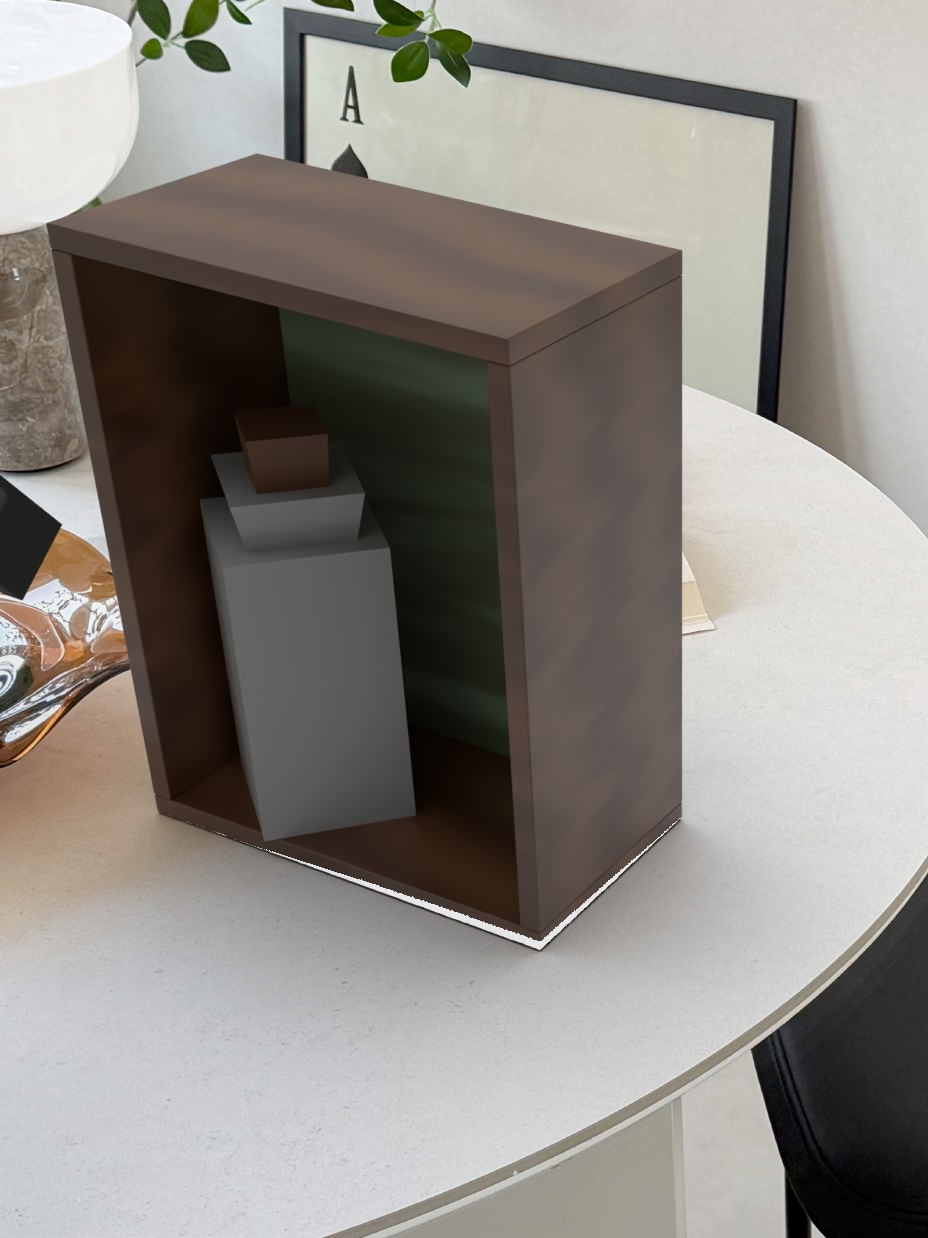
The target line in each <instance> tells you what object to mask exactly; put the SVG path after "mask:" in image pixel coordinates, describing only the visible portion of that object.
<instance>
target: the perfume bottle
mask: <svg viewBox="0 0 928 1238" xmlns="http://www.w3.org/2000/svg"><path fill="white" fill-rule="evenodd" d="M234 415H235V420H236V424H237V429H238V433H239V438H240V442H241V447H242V451H243V452H235V453H225V454H216V455H211V457H212V460H213V463H214V466H215V469H216V471H217V474H218V477H219V480H220V483H221V485H222V488H223V491H224V494H225V496H226V497H218V498H209V499H200V505H201V512H202V518H203V524H204V530H205V537H206V543H207V549H208V556H209V562H210V568H211V575H212V581H213V587H214V594H215V600H216V606H217V613H218V619H219V625H220V632H221V638H222V644H223V650H224V657H225V663H226V669H227V676H228V682H229V688H230V695H231V701H232V707H233V714H234V720H235V726H236V733H237V739H238V745H239V751H240V758H241V764H242V768H243V771H244V774H245V778H246V781H247V784H248V788H249V791H250V794H251V797H252V801H253V804H254V807H255V811H256V814H257V817H258V821H259V824H260V827H261V831H262V834H263V837H264V841H270V840H276V839H281V838H287V837H293V836H299V835H305V834H311V833H317V832H323V831H328V830H334V829H340V828H346V827H352V826H358V825H364V824H370V823H375V822H381V821H387V820H393V819H399V818H405V817H411V816H416V809H415V799H414V789H413V779H412V768H411V758H410V748H409V738H408V728H407V717H406V707H405V697H404V687H403V677H402V666H401V656H400V646H399V636H398V626H397V615H396V605H395V595H394V585H393V575H392V564H391V554H390V547H389V545H388V543H387V541H386V539H385V537H384V535H383V532H382V530H381V528H380V526H379V524H378V522H377V520H376V518H375V516H374V514H373V512H372V510H371V508H370V506H369V504H368V502H367V499H366V497H365V492H364V490H363V488H362V486H361V483H360V481H359V479H358V477H357V475H356V473H355V471H354V469H353V467H352V465H351V463H350V461H349V459H348V457H347V455H346V453H345V451H344V449H343V446H342V444H341V442H335V443H328V433H327V431H326V429H325V427H324V425H323V423H322V421H321V419H320V417H319V415H318V412H317V410H316V408H315V406H314V404H309V405H299V406H288V407H277V408H266V409H256V410H245V411H234Z"/></svg>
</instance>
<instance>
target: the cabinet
mask: <svg viewBox="0 0 928 1238" xmlns="http://www.w3.org/2000/svg"><path fill="white" fill-rule="evenodd" d="M45 225H46V229H47V230H46V231H47V236H48V241H49V246H50V249H51V250H50V252H51V257H52V261H53V268H54V273H55V277H56V283H57V289H58V294H59V301H60V304H61V305H60V306H61V309H62V315H63V320H64V321H63V322H64V326H65V330H66V337H67V341H68V346H69V347H68V348H69V351H70V358H71V363H72V367H73V373H74V379H75V383H76V389H77V394H78V400H79V405H80V411H81V415H82V420H83V421H82V422H83V427H84V431H85V436H86V442H87V448H88V453H89V456H90V462H91V468H92V473H93V479H94V484H95V488H96V494H97V499H98V505H99V511H100V515H101V522H102V525H103V532H104V536H105V542H106V546H107V547H106V548H107V553H108V557H109V562H110V569H111V573H112V579H113V584H114V590H115V596H116V599H117V605H118V610H119V616H120V621H121V626H122V627H121V628H122V632H123V638H124V641H125V647H126V652H127V658H128V665H129V669H130V673H131V679H132V680H131V681H132V685H133V690H134V695H135V700H136V706H137V711H138V717H139V721H140V727H141V732H142V738H143V743H144V747H145V754H146V758H147V759H146V760H147V763H148V770H149V773H150V779H151V785H152V791H153V794H154V799H155V803H156V810H157V812H158V813H160V814H163V815H164V816H165V815H166V816H168V815H169V816H168V817H170V816H171V818H173V817H174V818H173V819H176V818H178V819H177V820H179V819H181V820H184V821H187V822H190V823H192V824H195V825H198V826H201V827H204V828H206V829H209V830H212V831H215V832H218V833H221V834H224V835H226V836H227V837H226V838H228V837H230V838H229V839H231V838H233V839H232V840H234V839H236V840H238V841H237V842H239V841H242V842H245V843H248V844H250V845H253V846H256V847H259V848H262V849H265V850H266V849H267V850H268V851H269V850H270V851H271V852H272V851H273V852H276V853H279V854H282V855H285V856H288V857H291V858H294V859H297V860H300V861H303V862H306V863H310V864H313V865H316V866H319V867H322V868H325V869H328V870H331V871H334V872H337V873H341V874H344V875H347V876H350V877H353V878H356V879H360V880H361V879H362V880H363V881H366V882H369V883H372V884H376V885H379V886H380V887H383V888H386V889H390V890H393V891H394V892H395V891H396V892H397V893H402V894H404V895H407V896H410V897H412V896H413V897H414V898H415V899H420V900H421V901H422V900H424V901H425V902H426V901H427V902H428V903H431V904H435V905H438V906H439V907H441V906H442V907H443V908H446V909H449V910H450V911H451V910H453V911H454V912H458V913H461V914H464V915H465V916H466V915H468V916H469V917H470V918H474V919H477V920H480V921H482V922H483V921H484V922H485V923H488V924H492V925H493V926H494V925H495V926H496V927H500V928H503V929H504V930H506V929H507V930H508V931H512V932H515V933H516V934H517V933H519V934H520V935H524V936H526V937H528V938H530V937H531V938H532V939H533V940H537V941H542V940H543V939H544V937H546V936H547V935H549V933H550V932H551V931H553V929H555V927H557V926H559V924H560V923H561V922H563V921H564V920H565V919H566V918H567V917H568V916H569V915H570V914H572V912H574V910H575V911H576V909H578V908H579V907H580V906H581V905H582V904H583V903H585V901H587V899H589V898H590V897H591V896H592V895H593V894H594V893H596V892H597V891H598V890H599V888H601V887H603V885H604V884H606V882H608V880H610V879H611V878H613V876H615V874H617V873H618V872H620V870H621V869H623V868H624V867H625V866H626V865H628V863H630V862H631V860H633V859H634V858H636V856H638V855H639V854H641V852H642V851H644V849H646V848H647V846H649V845H650V844H652V843H653V842H654V841H655V840H656V839H657V838H658V837H660V836H661V834H663V833H664V831H666V830H667V829H669V827H670V826H672V824H673V823H675V822H676V821H678V819H679V818H681V817H682V818H683V250H682V249H680V248H674V247H671V246H666V245H661V244H657V243H654V242H653V243H652V242H648V241H644V240H639V239H635V238H631V237H626V236H621V235H618V234H613V233H608V232H605V231H600V230H596V229H591V228H587V227H583V226H578V225H574V224H569V223H564V222H562V221H561V222H560V221H556V220H551V219H547V218H543V217H539V216H534V215H530V214H525V213H520V212H516V211H512V210H507V209H504V208H499V207H495V206H492V205H491V206H490V205H485V204H482V203H478V202H473V201H468V200H465V199H459V198H456V197H452V196H451V197H450V196H447V195H441V194H439V193H438V194H437V193H433V192H429V191H424V190H420V189H415V188H411V187H408V186H406V187H405V186H402V185H399V184H393V183H389V182H385V181H380V180H376V179H371V178H369V177H364V176H358V175H353V174H350V173H345V172H341V171H336V170H332V169H328V168H323V167H319V166H314V165H310V164H306V163H301V162H297V161H292V160H288V159H283V158H279V157H276V156H275V157H274V156H270V155H266V154H262V153H254V154H250V155H247V156H245V157H242V158H239V159H235V160H233V161H230V162H227V163H224V164H220V165H217V166H214V167H212V168H208V169H206V170H201V171H200V172H199V171H198V172H196V173H193V174H191V175H187V176H184V177H182V178H178V179H175V180H172V181H169V182H166V183H164V184H160V185H157V186H154V187H151V188H148V189H145V190H142V191H139V192H136V193H133V194H130V195H127V196H124V197H120V198H118V199H115V200H111V201H108V202H105V203H102V204H100V205H95V206H93V207H90V208H88V209H85V210H81V211H78V212H75V213H72V214H70V215H69V214H68V215H66V216H63V217H60V218H57V219H54V220H52V221H48V222H46V223H45ZM309 404H314V406H315V408H316V410H317V412H318V415H319V417H320V419H321V421H322V423H323V425H324V427H325V429H326V431H327V433H328V443H335V442H341V444H342V446H343V449H344V451H345V453H346V455H347V457H348V459H349V461H350V463H351V465H352V467H353V469H354V471H355V473H356V475H357V477H358V479H359V481H360V483H361V486H362V488H363V490H364V492H365V497H366V499H367V502H368V504H369V506H370V508H371V510H372V512H373V514H374V516H375V518H376V520H377V522H378V524H379V526H380V528H381V530H382V532H383V535H384V537H385V539H386V541H387V543H388V545H389V547H390V554H391V564H392V575H393V585H394V595H395V605H396V615H397V626H398V636H399V646H400V656H401V666H402V677H403V687H404V697H405V707H406V717H407V728H408V738H409V748H410V758H411V768H412V779H413V789H414V799H415V809H416V816H411V817H405V818H399V819H393V820H387V821H381V822H375V823H370V824H364V825H358V826H352V827H346V828H340V829H334V830H328V831H323V832H317V833H311V834H305V835H299V836H293V837H287V838H281V839H276V840H270V841H264V837H263V834H262V831H261V827H260V824H259V821H258V817H257V814H256V811H255V807H254V804H253V801H252V797H251V794H250V791H249V788H248V784H247V781H246V778H245V774H244V771H243V768H242V764H241V758H240V751H239V745H238V739H237V733H236V726H235V720H234V714H233V707H232V701H231V695H230V688H229V682H228V676H227V669H226V663H225V657H224V650H223V644H222V638H221V632H220V625H219V619H218V613H217V606H216V600H215V594H214V587H213V581H212V575H211V568H210V562H209V556H208V549H207V543H206V537H205V530H204V524H203V518H202V512H201V505H200V499H209V498H218V497H226V496H225V494H224V491H223V488H222V485H221V483H220V480H219V477H218V474H217V471H216V469H215V466H214V463H213V460H212V457H211V455H216V454H225V453H235V452H243V451H242V447H241V442H240V438H239V433H238V429H237V424H236V420H235V415H234V411H245V410H256V409H266V408H277V407H288V406H299V405H309ZM181 820H180V821H181ZM184 821H183V822H184ZM187 822H186V823H187ZM190 823H189V824H190ZM192 824H191V825H192ZM195 825H194V826H195ZM198 826H197V827H198ZM201 827H200V828H201ZM206 829H205V830H206ZM209 830H208V831H209ZM212 831H211V832H212ZM236 840H235V841H236ZM242 842H241V843H242ZM245 843H244V844H245ZM250 845H249V846H250ZM253 846H252V847H253ZM256 847H255V848H256Z"/></svg>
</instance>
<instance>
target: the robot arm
mask: <svg viewBox="0 0 928 1238" xmlns="http://www.w3.org/2000/svg"><path fill="white" fill-rule="evenodd" d="M62 526H63V524H62V523H61V522H60V521H59V520H57V519H56V518H55V517H54V516H53V515H51V514H50V513H48V512H47V511H46V510H45V509H44V508H43V507H42V506H40V505H39V504H38V503H36V502H35V501H34V500H33V499H31V498H30V497H29V496H27V494H25V493H24V492H23V491H21V490H20V489H19V488H18V487H17V486H15V485H13V484H12V483H11V482H10V481H9V480H8V479H6V478H5V477H4V476H2V475H1V474H0V593H1V594H2V595H4V596H7V597H10V598H12V599H13V598H14V599H17V600H19V601H24V599H25V597H26V595H27V593H28V591H29V590H30V588H31V586H32V584H33V582H34V580H35V578H36V576H37V574H38V572H39V571H40V569H41V566H42V565H43V562H44V560H45V559H46V557H47V555H48V553H49V551H50V549H51V548H52V546H53V543H54V542H55V540H56V537H58V534H59V531H60V530H61V528H62Z"/></svg>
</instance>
